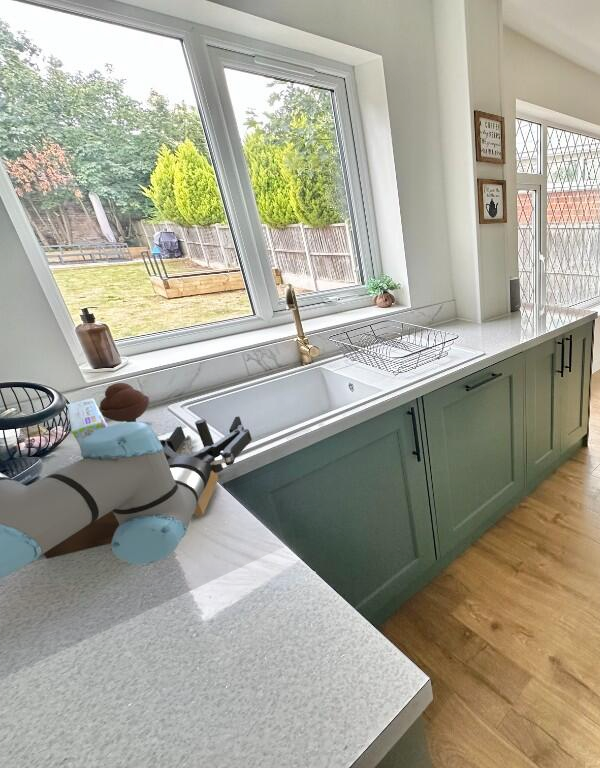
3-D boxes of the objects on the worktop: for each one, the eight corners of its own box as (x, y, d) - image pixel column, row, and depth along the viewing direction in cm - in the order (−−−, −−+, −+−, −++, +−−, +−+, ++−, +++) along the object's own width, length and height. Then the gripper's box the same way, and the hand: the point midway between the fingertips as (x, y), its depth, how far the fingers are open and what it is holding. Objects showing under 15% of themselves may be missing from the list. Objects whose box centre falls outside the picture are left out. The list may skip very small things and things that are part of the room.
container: (236, 474, 97) (213, 407, 90) (224, 509, 86) (196, 435, 79) (132, 496, 91) (98, 425, 84) (103, 538, 79) (61, 460, 72)
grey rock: (191, 462, 105) (185, 448, 104) (154, 471, 102) (148, 457, 100) (196, 443, 114) (191, 430, 112) (162, 451, 110) (156, 437, 109)
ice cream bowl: (101, 440, 117) (77, 392, 111) (139, 421, 127) (120, 376, 121) (132, 443, 115) (110, 394, 109) (169, 423, 125) (150, 378, 119)
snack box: (91, 454, 110) (65, 403, 104) (118, 446, 114) (95, 396, 108) (98, 487, 96) (69, 430, 90) (130, 476, 100) (104, 421, 94)
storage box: (174, 492, 94) (158, 454, 90) (151, 533, 82) (132, 492, 78) (85, 512, 88) (63, 473, 84) (46, 558, 76) (19, 516, 72)
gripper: (104, 521, 68) (153, 453, 87) (259, 486, 75) (273, 431, 94) (84, 483, 65) (139, 422, 84) (247, 451, 72) (264, 401, 91)
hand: (210, 427), depth 89 cm, fingers open, 10 cm apart
